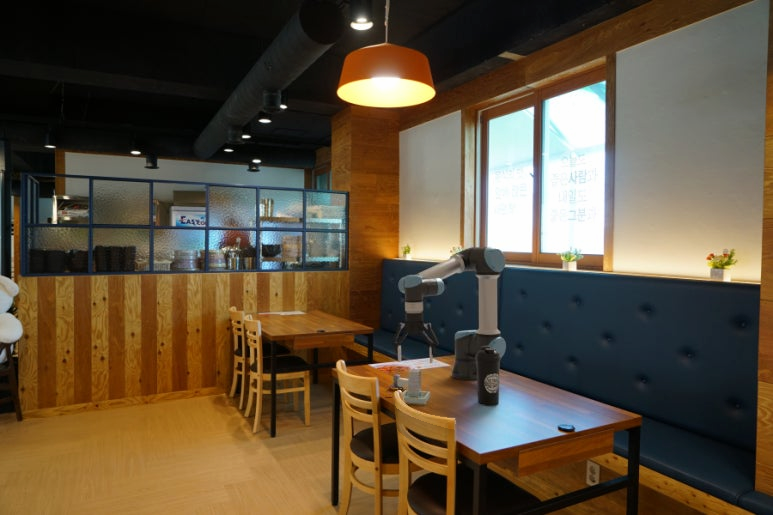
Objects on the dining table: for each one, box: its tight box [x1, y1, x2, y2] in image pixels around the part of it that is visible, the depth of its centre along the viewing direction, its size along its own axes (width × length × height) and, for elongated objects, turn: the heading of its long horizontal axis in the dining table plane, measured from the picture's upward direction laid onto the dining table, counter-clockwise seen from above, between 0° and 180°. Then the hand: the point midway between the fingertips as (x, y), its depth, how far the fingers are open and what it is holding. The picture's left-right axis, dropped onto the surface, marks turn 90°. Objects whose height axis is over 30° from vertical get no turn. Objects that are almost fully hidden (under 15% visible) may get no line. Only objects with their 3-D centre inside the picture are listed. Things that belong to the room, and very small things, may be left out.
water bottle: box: [476, 346, 502, 407], centre depth 214 cm, size 10×10×23 cm
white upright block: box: [407, 368, 422, 398], centre depth 218 cm, size 4×4×12 cm
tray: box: [402, 389, 431, 406], centre depth 218 cm, size 11×11×2 cm
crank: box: [392, 374, 408, 389], centre depth 235 cm, size 13×3×5 cm, turn 55°
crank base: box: [389, 384, 404, 389], centre depth 238 cm, size 6×6×1 cm
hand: (415, 361), depth 218 cm, fingers open, 13 cm apart
